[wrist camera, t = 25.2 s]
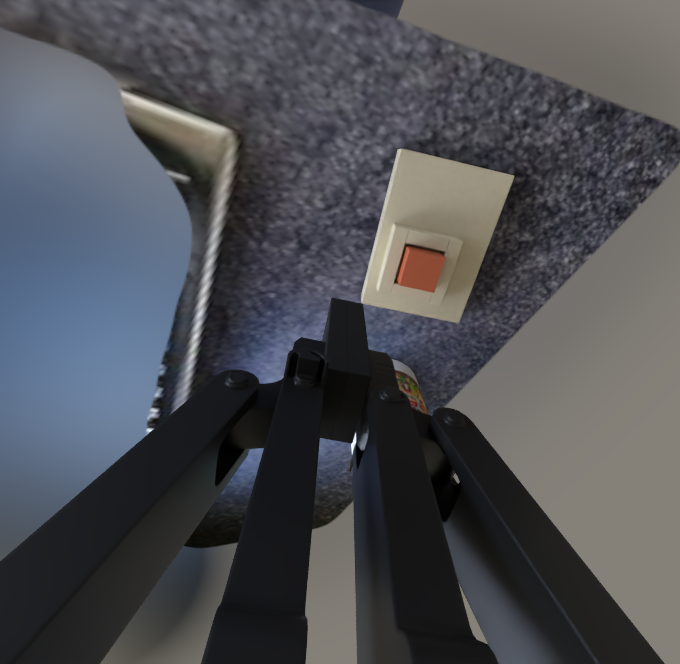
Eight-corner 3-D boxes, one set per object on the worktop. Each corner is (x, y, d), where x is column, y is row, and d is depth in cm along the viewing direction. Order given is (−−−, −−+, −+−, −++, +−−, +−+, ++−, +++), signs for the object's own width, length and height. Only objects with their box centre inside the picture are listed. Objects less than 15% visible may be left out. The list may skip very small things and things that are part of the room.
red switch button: (406, 245, 33) (409, 249, 32) (441, 253, 33) (446, 257, 32) (396, 279, 34) (399, 285, 33) (430, 287, 35) (434, 293, 33)
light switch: (397, 148, 33) (404, 147, 30) (504, 174, 34) (524, 176, 30) (360, 296, 39) (362, 310, 35) (453, 315, 40) (464, 331, 36)
